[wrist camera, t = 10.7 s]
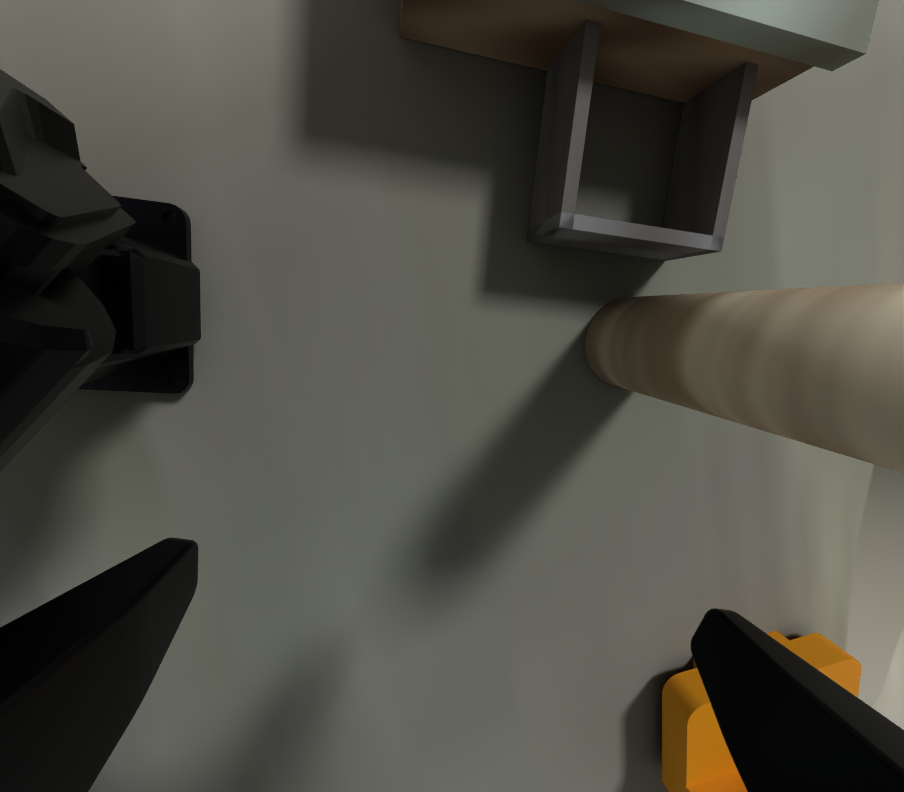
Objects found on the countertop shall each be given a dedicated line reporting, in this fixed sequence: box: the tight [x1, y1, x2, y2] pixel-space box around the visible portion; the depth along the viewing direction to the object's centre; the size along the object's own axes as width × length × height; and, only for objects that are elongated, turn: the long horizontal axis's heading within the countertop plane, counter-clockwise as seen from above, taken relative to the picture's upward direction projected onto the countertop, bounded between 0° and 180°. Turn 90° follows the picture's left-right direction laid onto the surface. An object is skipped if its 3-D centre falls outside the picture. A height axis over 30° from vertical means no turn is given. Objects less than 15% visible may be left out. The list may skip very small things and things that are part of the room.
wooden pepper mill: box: [585, 283, 904, 473], centre depth 13 cm, size 4×4×13 cm
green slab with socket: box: [399, 0, 879, 261], centre depth 14 cm, size 15×12×5 cm
